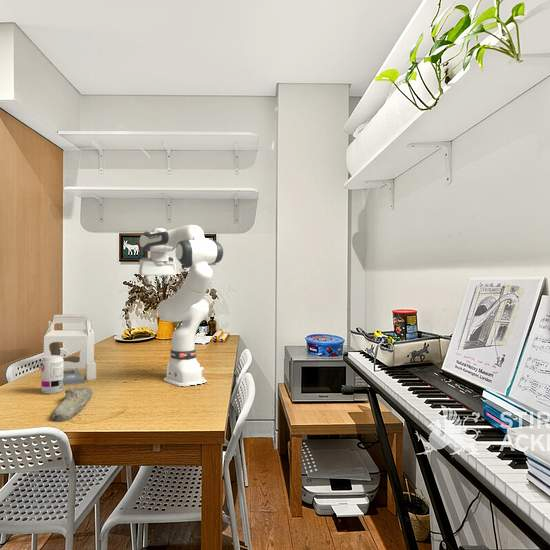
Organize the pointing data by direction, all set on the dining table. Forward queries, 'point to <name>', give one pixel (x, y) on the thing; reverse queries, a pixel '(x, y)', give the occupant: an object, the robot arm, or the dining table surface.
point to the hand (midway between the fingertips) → (157, 283)
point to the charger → (90, 370)
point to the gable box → (70, 340)
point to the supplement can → (52, 374)
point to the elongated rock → (72, 403)
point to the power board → (72, 377)
